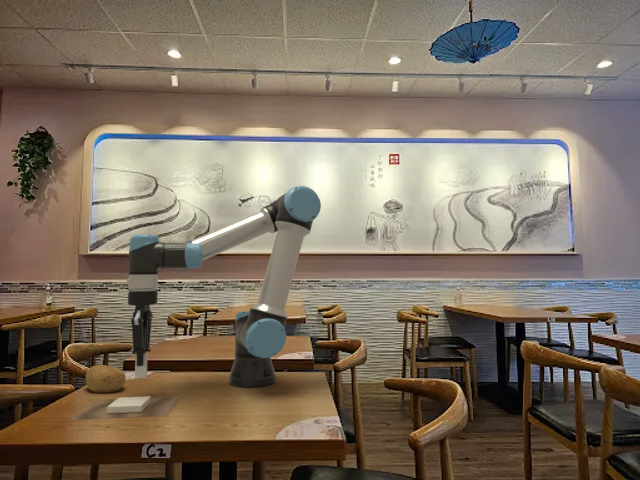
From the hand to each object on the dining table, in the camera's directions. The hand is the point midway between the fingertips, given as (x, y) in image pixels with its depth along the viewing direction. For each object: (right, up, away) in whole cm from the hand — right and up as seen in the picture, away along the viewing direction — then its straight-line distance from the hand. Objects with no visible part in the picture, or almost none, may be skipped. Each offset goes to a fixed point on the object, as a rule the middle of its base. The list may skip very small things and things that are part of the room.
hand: (140, 377), depth 110 cm
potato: (-15, -9, +10) cm, 20 cm away
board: (0, -7, -7) cm, 9 cm away
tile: (0, -5, -4) cm, 6 cm away
